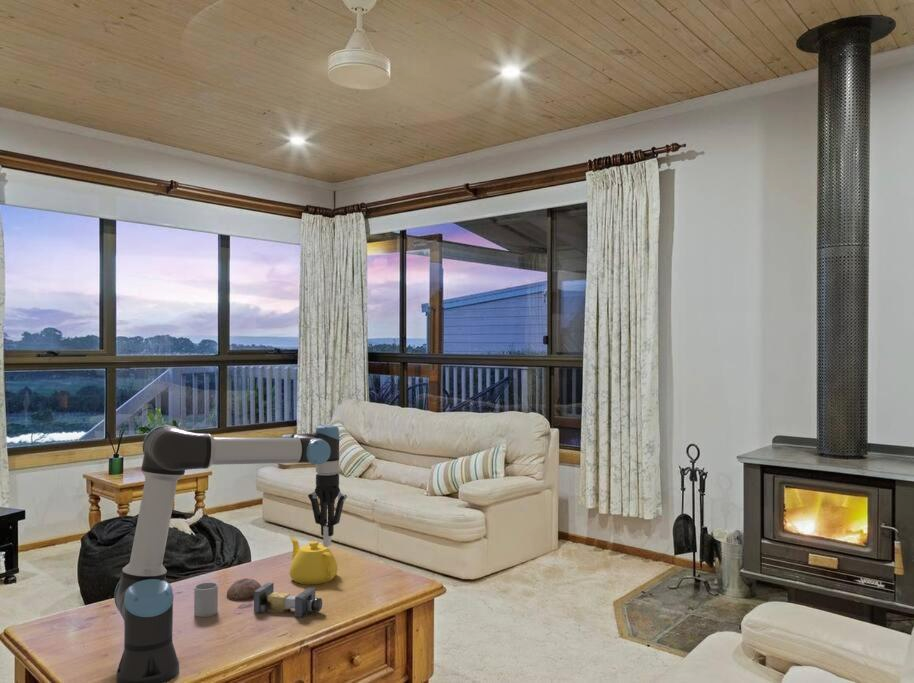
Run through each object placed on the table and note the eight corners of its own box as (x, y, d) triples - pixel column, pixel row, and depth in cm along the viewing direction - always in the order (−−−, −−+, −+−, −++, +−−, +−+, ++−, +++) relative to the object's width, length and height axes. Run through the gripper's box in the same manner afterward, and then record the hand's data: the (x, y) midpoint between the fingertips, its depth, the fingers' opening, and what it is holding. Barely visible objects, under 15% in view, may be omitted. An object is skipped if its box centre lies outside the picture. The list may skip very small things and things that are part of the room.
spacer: (283, 612, 226) (283, 597, 226) (267, 611, 227) (267, 595, 227) (289, 608, 230) (289, 593, 230) (273, 606, 231) (273, 591, 231)
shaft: (322, 608, 226) (322, 596, 227) (316, 613, 223) (316, 600, 223) (289, 605, 230) (289, 593, 230) (283, 609, 226) (283, 597, 226)
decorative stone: (220, 600, 238) (220, 584, 238) (238, 588, 250) (238, 573, 250) (251, 602, 236) (251, 586, 236) (268, 590, 247) (268, 575, 248)
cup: (197, 619, 220) (197, 591, 220) (189, 609, 228) (189, 582, 228) (220, 614, 224) (220, 586, 225) (211, 605, 232) (211, 578, 233)
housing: (315, 607, 230) (315, 586, 230) (302, 618, 221) (302, 596, 221) (268, 602, 235) (268, 582, 235) (253, 612, 225) (253, 591, 226)
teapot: (272, 576, 262) (272, 540, 263) (309, 565, 276) (309, 531, 276) (314, 591, 247) (314, 552, 247) (351, 578, 260) (351, 542, 261)
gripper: (350, 472, 227) (350, 544, 226) (314, 470, 230) (314, 541, 230) (341, 476, 219) (340, 550, 219) (304, 474, 223) (303, 547, 222)
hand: (327, 545), depth 224 cm, fingers closed
